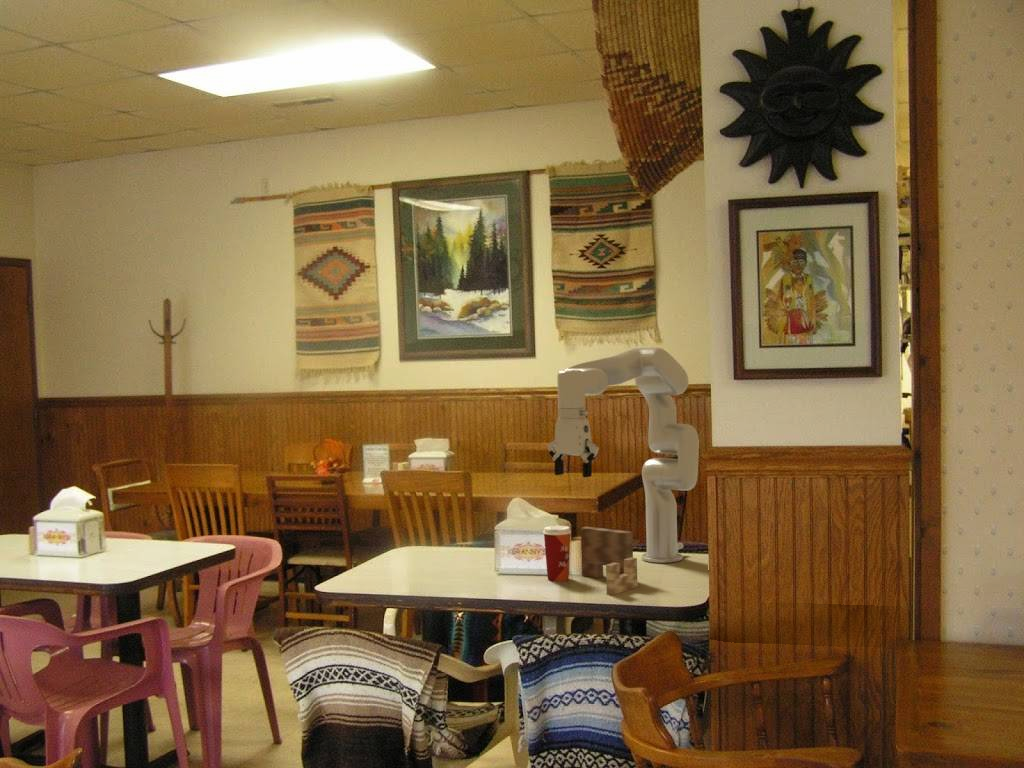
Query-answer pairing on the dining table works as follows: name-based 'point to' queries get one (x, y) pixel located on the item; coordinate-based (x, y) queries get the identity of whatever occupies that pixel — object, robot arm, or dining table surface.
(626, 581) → the brown u-shaped block
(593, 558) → the walnut block
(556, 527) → the coffee cup
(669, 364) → the robot arm
